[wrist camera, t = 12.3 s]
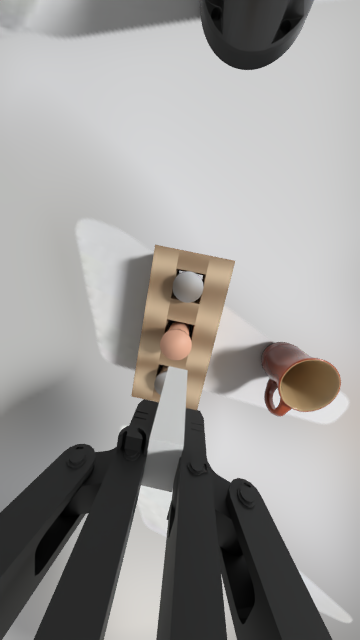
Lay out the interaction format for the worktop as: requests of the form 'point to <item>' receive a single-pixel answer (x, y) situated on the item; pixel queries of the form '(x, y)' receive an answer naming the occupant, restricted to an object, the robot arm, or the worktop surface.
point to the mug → (298, 379)
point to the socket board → (180, 319)
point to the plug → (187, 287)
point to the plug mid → (176, 341)
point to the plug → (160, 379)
